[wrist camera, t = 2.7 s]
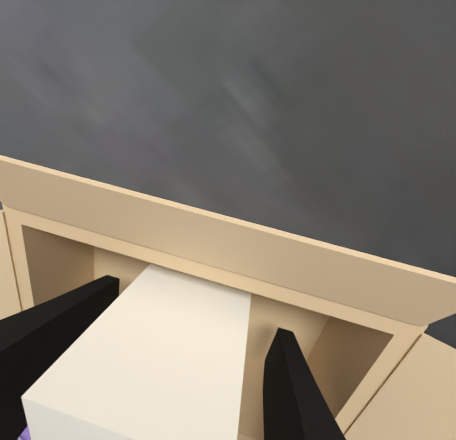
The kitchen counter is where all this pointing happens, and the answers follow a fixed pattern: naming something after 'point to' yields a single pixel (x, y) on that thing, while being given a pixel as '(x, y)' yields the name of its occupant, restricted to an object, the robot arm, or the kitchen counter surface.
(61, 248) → the carton
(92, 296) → the robot arm
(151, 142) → the kitchen counter surface
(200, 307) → the block
